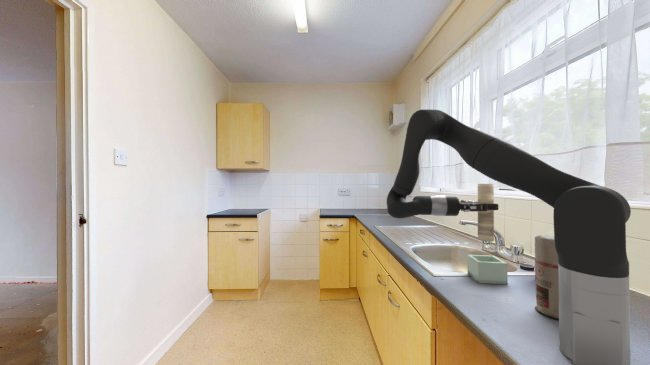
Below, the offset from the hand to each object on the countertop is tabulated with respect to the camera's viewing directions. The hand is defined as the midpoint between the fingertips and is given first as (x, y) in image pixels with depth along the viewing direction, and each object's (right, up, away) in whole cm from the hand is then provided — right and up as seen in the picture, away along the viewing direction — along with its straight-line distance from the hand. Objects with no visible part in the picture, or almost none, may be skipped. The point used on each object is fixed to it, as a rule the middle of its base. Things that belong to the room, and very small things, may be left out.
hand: (493, 206), depth 87 cm
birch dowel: (-3, -12, 0) cm, 12 cm away
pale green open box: (-2, -26, 0) cm, 26 cm away
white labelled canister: (0, -26, -24) cm, 35 cm away
